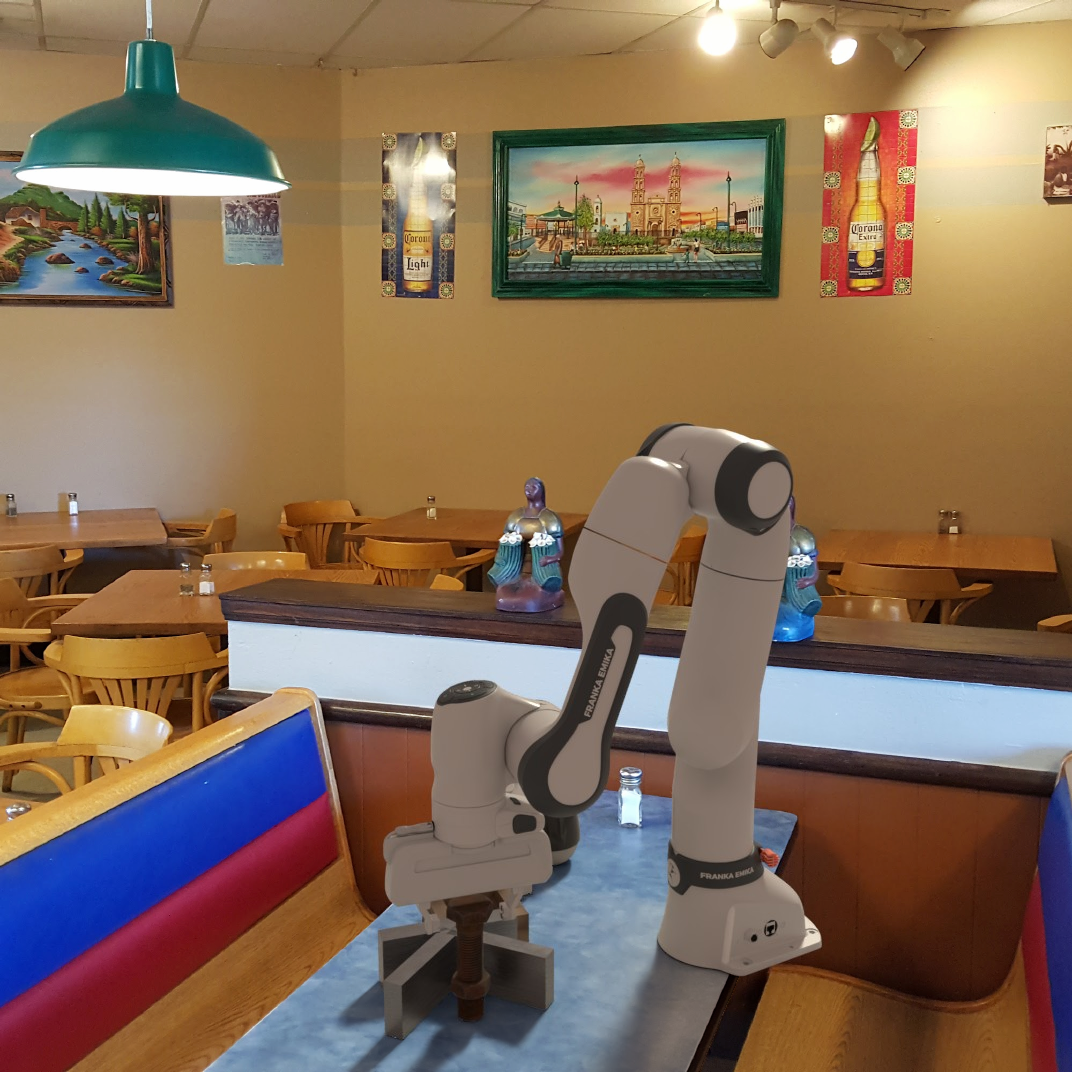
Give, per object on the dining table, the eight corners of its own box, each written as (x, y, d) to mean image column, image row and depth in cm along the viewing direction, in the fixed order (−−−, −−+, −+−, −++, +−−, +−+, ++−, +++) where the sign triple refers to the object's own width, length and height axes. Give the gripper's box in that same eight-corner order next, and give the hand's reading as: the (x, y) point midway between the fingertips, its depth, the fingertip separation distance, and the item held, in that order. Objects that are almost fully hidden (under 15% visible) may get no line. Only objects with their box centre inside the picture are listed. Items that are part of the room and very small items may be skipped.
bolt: (484, 1033, 135) (483, 916, 133) (444, 1028, 136) (442, 912, 134) (496, 1006, 141) (495, 893, 138) (458, 1001, 142) (456, 889, 140)
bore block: (502, 907, 166) (501, 875, 165) (528, 947, 155) (528, 913, 154) (422, 921, 162) (421, 889, 161) (444, 963, 151) (443, 928, 150)
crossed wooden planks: (522, 953, 153) (522, 904, 152) (558, 1007, 140) (559, 955, 139) (365, 982, 146) (363, 932, 145) (388, 1043, 133) (386, 988, 132)
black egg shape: (503, 855, 183) (503, 765, 181) (556, 840, 189) (556, 753, 186) (538, 879, 175) (538, 785, 172) (592, 862, 180) (593, 772, 178)
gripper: (388, 839, 128) (391, 953, 130) (557, 815, 135) (557, 923, 137) (377, 818, 134) (380, 927, 136) (539, 796, 141) (539, 899, 143)
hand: (470, 925), depth 137 cm, fingers open, 8 cm apart
